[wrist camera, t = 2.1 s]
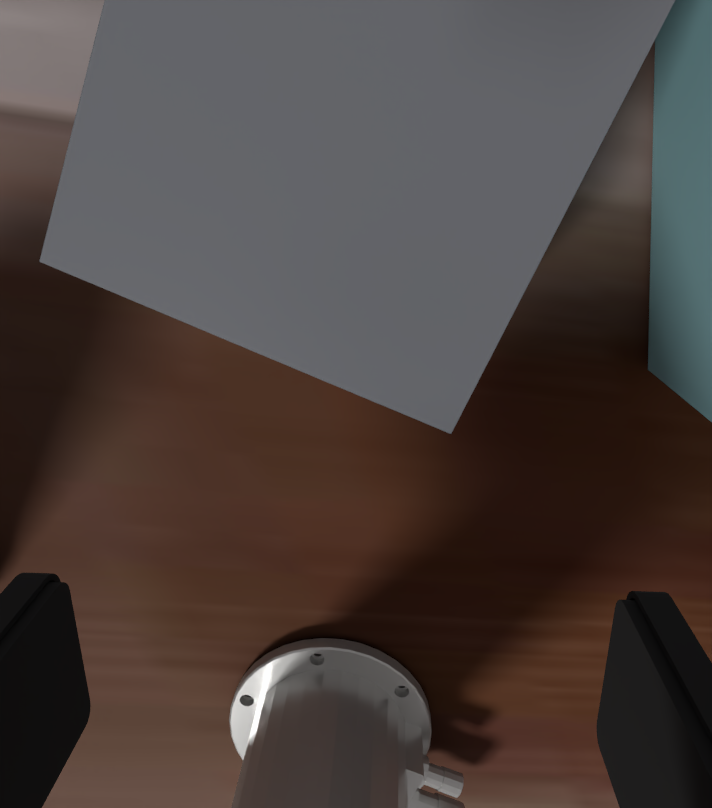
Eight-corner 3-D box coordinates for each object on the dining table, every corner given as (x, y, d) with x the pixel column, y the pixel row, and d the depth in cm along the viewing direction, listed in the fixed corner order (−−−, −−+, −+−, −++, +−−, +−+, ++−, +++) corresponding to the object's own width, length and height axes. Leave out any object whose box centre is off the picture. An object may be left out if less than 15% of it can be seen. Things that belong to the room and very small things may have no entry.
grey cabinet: (643, -67, 28) (769, -183, 18) (435, 359, 34) (450, 434, 25) (284, -247, 26) (222, -472, 17) (140, 232, 33) (39, 261, 24)
